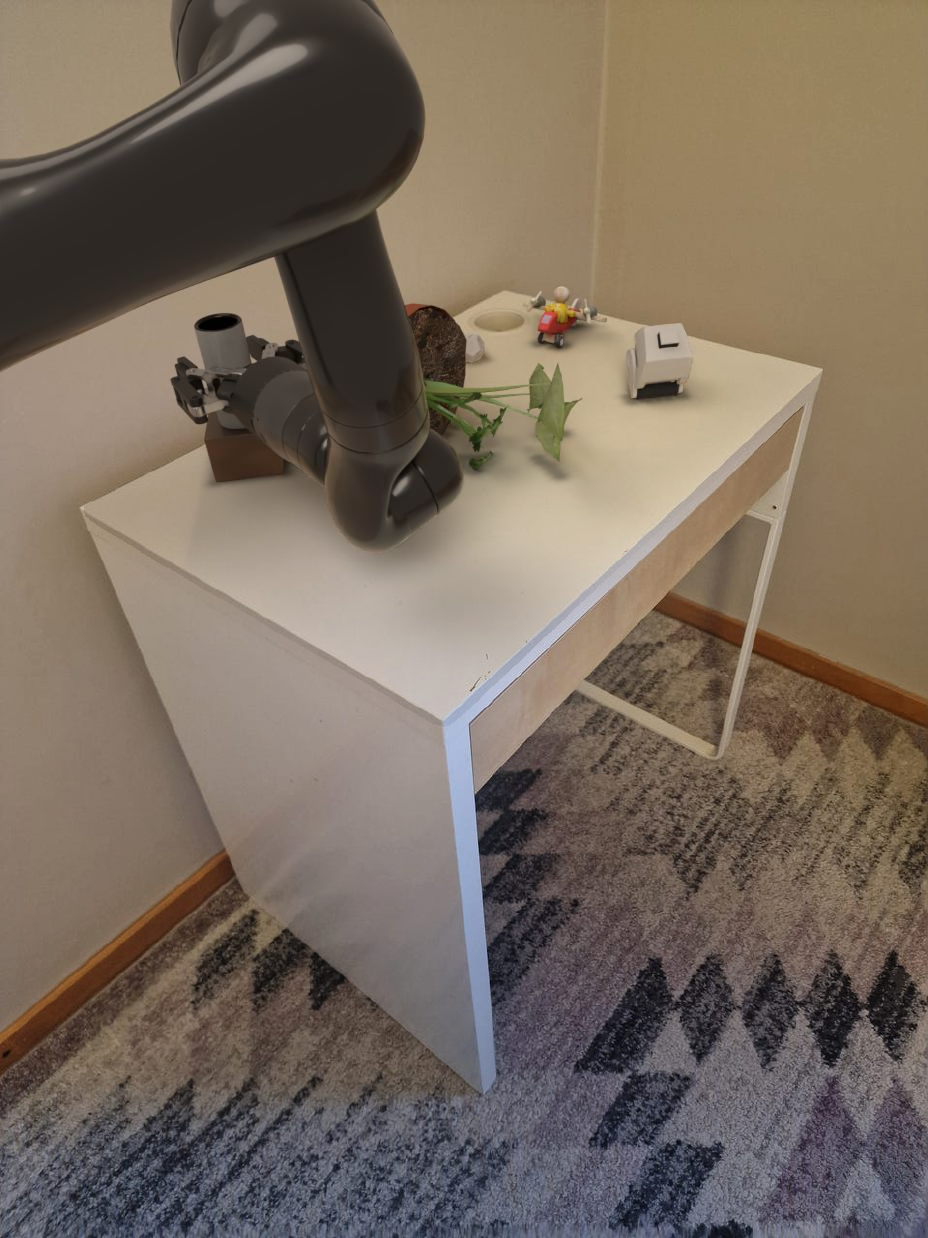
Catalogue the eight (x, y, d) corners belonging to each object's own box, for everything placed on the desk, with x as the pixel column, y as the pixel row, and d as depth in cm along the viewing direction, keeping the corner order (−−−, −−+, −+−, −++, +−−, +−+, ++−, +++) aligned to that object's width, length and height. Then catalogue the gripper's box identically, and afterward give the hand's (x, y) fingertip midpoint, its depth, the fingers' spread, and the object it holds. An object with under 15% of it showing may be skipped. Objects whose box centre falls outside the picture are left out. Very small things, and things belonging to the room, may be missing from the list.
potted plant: (302, 457, 95) (583, 522, 78) (272, 318, 86) (581, 356, 69) (388, 406, 105) (654, 453, 88) (369, 277, 96) (660, 301, 79)
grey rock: (451, 362, 108) (450, 339, 106) (466, 351, 110) (465, 328, 108) (475, 367, 106) (474, 344, 104) (490, 355, 109) (489, 332, 107)
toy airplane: (539, 353, 108) (539, 302, 104) (521, 326, 115) (521, 277, 111) (608, 343, 109) (611, 293, 105) (586, 317, 116) (588, 269, 112)
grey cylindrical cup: (262, 406, 90) (241, 309, 84) (264, 426, 87) (241, 327, 80) (219, 412, 90) (194, 315, 83) (219, 432, 86) (193, 333, 80)
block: (215, 482, 89) (203, 439, 86) (220, 449, 94) (209, 407, 91) (283, 473, 89) (273, 431, 86) (284, 441, 95) (275, 399, 91)
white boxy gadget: (626, 408, 100) (648, 370, 90) (617, 355, 101) (637, 312, 91) (675, 403, 100) (702, 364, 90) (666, 350, 101) (691, 306, 91)
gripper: (358, 348, 76) (273, 299, 86) (208, 399, 70) (136, 339, 80) (368, 425, 81) (287, 369, 91) (229, 478, 75) (159, 412, 85)
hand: (217, 355), depth 86 cm, fingers open, 7 cm apart
